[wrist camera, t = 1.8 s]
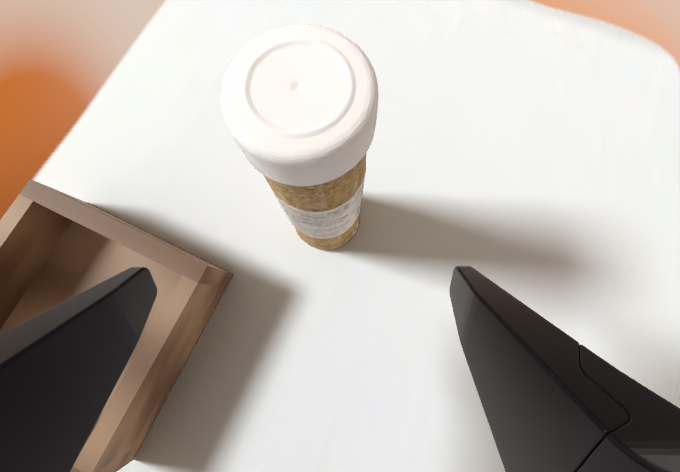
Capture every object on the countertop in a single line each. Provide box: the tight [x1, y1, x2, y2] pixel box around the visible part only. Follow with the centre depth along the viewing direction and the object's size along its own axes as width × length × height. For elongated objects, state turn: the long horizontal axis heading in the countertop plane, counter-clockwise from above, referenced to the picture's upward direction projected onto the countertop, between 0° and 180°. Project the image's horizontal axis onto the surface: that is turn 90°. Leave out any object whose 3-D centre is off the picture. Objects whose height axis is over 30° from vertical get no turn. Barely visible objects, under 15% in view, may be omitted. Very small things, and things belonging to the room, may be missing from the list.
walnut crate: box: [0, 180, 233, 472], centre depth 19 cm, size 12×12×4 cm
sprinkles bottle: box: [221, 24, 378, 250], centre depth 15 cm, size 5×5×13 cm
